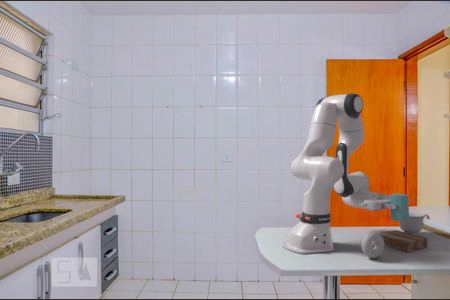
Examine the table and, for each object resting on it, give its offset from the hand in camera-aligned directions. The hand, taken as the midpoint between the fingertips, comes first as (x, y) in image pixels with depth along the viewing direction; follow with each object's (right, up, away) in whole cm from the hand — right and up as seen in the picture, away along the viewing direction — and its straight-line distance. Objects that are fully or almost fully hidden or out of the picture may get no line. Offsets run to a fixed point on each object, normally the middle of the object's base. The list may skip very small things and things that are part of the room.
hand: (401, 206), depth 128 cm
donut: (-20, -17, -15) cm, 30 cm away
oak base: (0, -17, 0) cm, 17 cm away
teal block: (0, -6, +1) cm, 6 cm away
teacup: (+16, -17, +17) cm, 29 cm away
